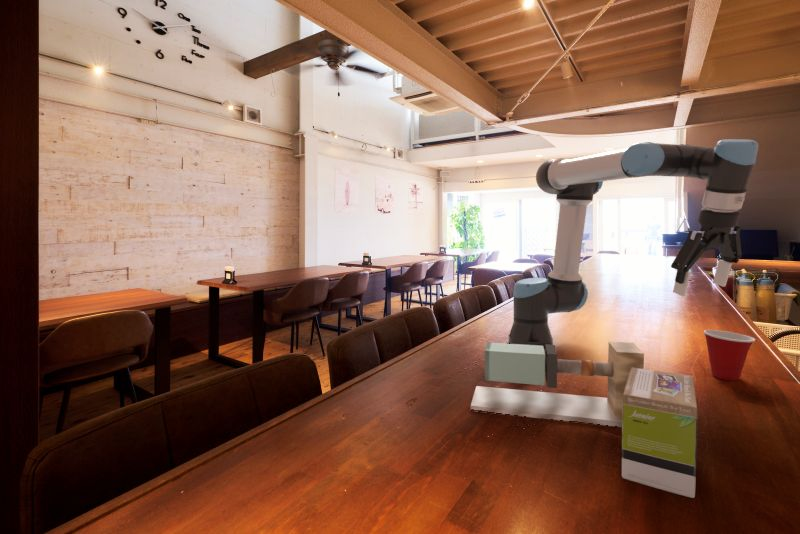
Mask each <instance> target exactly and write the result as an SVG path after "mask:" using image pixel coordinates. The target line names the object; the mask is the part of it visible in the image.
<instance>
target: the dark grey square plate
mask: <svg viewBox="0 0 800 534" xmlns="http://www.w3.org/2000/svg"><path fill="white" fill-rule="evenodd" d="M544 352H545V358H547V372H545V382H546V388H548V389H549V388H550V389H558V373H557V359H558V352H557V350H556V345H555V344H553V345H549V344H545V349H544Z"/></svg>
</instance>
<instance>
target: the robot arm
mask: <svg viewBox="0 0 800 534" xmlns="http://www.w3.org/2000/svg"><path fill="white" fill-rule="evenodd" d="M758 152H759V143H758V141H756V140H753V139H744V138H743V139H739V138H738V139H737V138H729V139H728V138H727V139H721V140H719V141H717V142H716V145H715V146H713V147H711V146H710V147H709V146H702V145H701V146H700V145H692V144H684V143H682V144H681V143H680V144H673V143H672V144H671V143H669V144H668V143H658V142H657V143H656V142H649V141H646V142H636V143H633V144H631V145H630V146H628V147H627V148H623V149H618V150H612V151H607V152H602V153H601V152H600V153H597V154H593V155H586V156H582V157H577V158H572V159H566V158H563V157H562V158H561V157H559V158H553V159H548V160H546V161H544V162H543V163H542V164H541V165H540V166H539V167H538V169H537V171H536V174H535V181H536V184H537V186H538V187H539V189H541V190H542V191H543V192H544V193H546V194H549V195H550V194H551V195H556V201H557V203H559V213H558V221H557V223H558V224H557V230H556V240H555V247H554V257H553V258H554V259H553V267H552V270H551V271H550V272H548V274H547V278H545V277H528V278H524V279H520V280H517V281H516V282H515V283H514V285H513V293H512V294H513V295H512V296H513V322H512V325H511V329H510V331H509V334H508V344H509V343H510V344H522V345H539V346H543V347H544V350H545V344H549V345H554V338H553V337H552V333H551V330H550V326H549V322H548V321H549V319H548V318H549V316H548V315H549V314H558V313H559V314H560V313H571V312H575V311H578V310H580V309H581V308H583V307H584V306H585V305H586V302H587V300H588V297H589V296H588V294H589V293H588V288H587V285H586V284H585V282H584V281H583V277H582V276H581V274H580V273H579V270H580V262H581V255H582V254H581V253H582V247H583V239H584V231H585V223H586V215H587V210H588V209H587V208H588V207H587V206H588V205H589V204H591V202H592V203H593V201H594V199H593V198H594V195H595V194H597V193H598V192H599V191H600V190H601V189H602V186H603V183H604V182H607V181H615V180H622V179H632V178H635V179H636V178H642V177H677V178H678V177H679V178H680V177H681V178H692V179H698V180H702V181H703V180H704V181H706V186H705V190H704V195H703V197H702V201H701V206H702V207H701V208H700V210H699V214H698V218H697V222H698V224H700V229H698V231H696V230H692V229H690V230H689V232H688V234H687V237H686V240H685V241H684V243H683V245H682V246H681V248H680V250H679V251H678V253H677V255H676V257H675V258H674V260H672V263H671V264H670V267H671V268H672V269H675V270H676V275H675V278H674V286H673V291H672V293H674V294H677V295H679V296H681V297H685V296H686V295H687V290H688V287H689V283H690V277H691V274H692V272H691V271H690V270H691V268H693V266H694V265H695V264H696V262H697V261H699V259H700V258H701V257H702V256H703V254H704V253H705V252H707V251H709V250H710V249H711V248H713V247H717V250H718V252H719V254H720V256H721V258H722V259H719V260H718V263H717V267H716V270H715V273H714V277H713V281H712V284H715V285H718V286H721V287H722V288H724V287H726V285H727V283H728V279H729V276H730V273H731V269H732V266H733V263H734V264H738V262H740V259H741V258H742V247H741V236H740V234H741V233H740V232H741V229H742V226H741V225H739V224H738V222H739V219H740V215H741V211H740V210H741V209H742V208H743V204H744V202H745V200H746V198H745V197H746V194H747V190H748V186H749V182H750V180H751V177H752V176H751V175H752V173H753V170H754V168H755V167H754V166H755V165H756V163H757V155H758Z"/></svg>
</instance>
